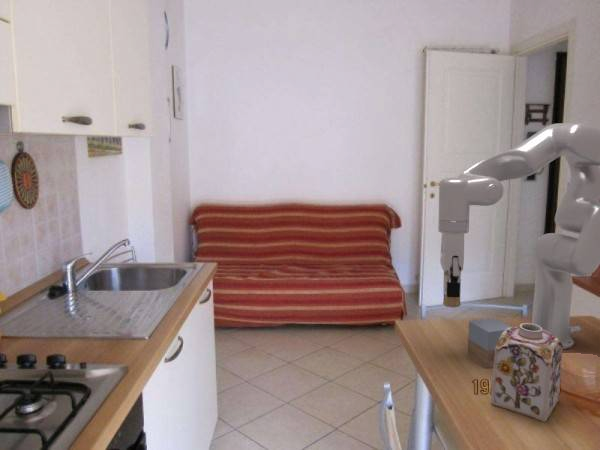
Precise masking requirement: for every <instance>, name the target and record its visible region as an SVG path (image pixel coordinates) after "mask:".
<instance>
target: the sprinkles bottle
mask: <svg viewBox="0 0 600 450" xmlns="http://www.w3.org/2000/svg"><path fill="white" fill-rule="evenodd" d="M450 270H453V268H450ZM461 273H462V271H461V272H460V294H461V292H462V291H461V289H462V287H461V285H462V284H461V282H462V281H461V280H462V279H461V278H462V277H461V276H462V275H461ZM451 274H453V273H451ZM447 282H448V270H446V272H445V271H443V290H442V291H443V301H442V305H443V306H444V307H447V308H453V309H454V308H459V307H460V306H461V305H462V304H461V296H460V297H447Z"/></svg>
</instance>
